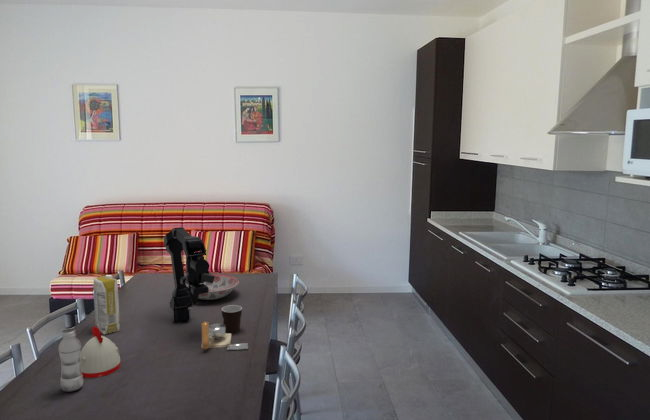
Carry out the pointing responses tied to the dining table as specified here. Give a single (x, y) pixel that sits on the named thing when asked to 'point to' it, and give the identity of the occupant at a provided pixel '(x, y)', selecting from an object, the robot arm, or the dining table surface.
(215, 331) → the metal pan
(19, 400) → the dining table surface
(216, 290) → the ceramic bowl
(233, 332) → the coffee mug
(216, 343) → the square beige tile
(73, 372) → the plastic bottle
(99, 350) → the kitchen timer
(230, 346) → the loose steel rod
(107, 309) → the juice carton
